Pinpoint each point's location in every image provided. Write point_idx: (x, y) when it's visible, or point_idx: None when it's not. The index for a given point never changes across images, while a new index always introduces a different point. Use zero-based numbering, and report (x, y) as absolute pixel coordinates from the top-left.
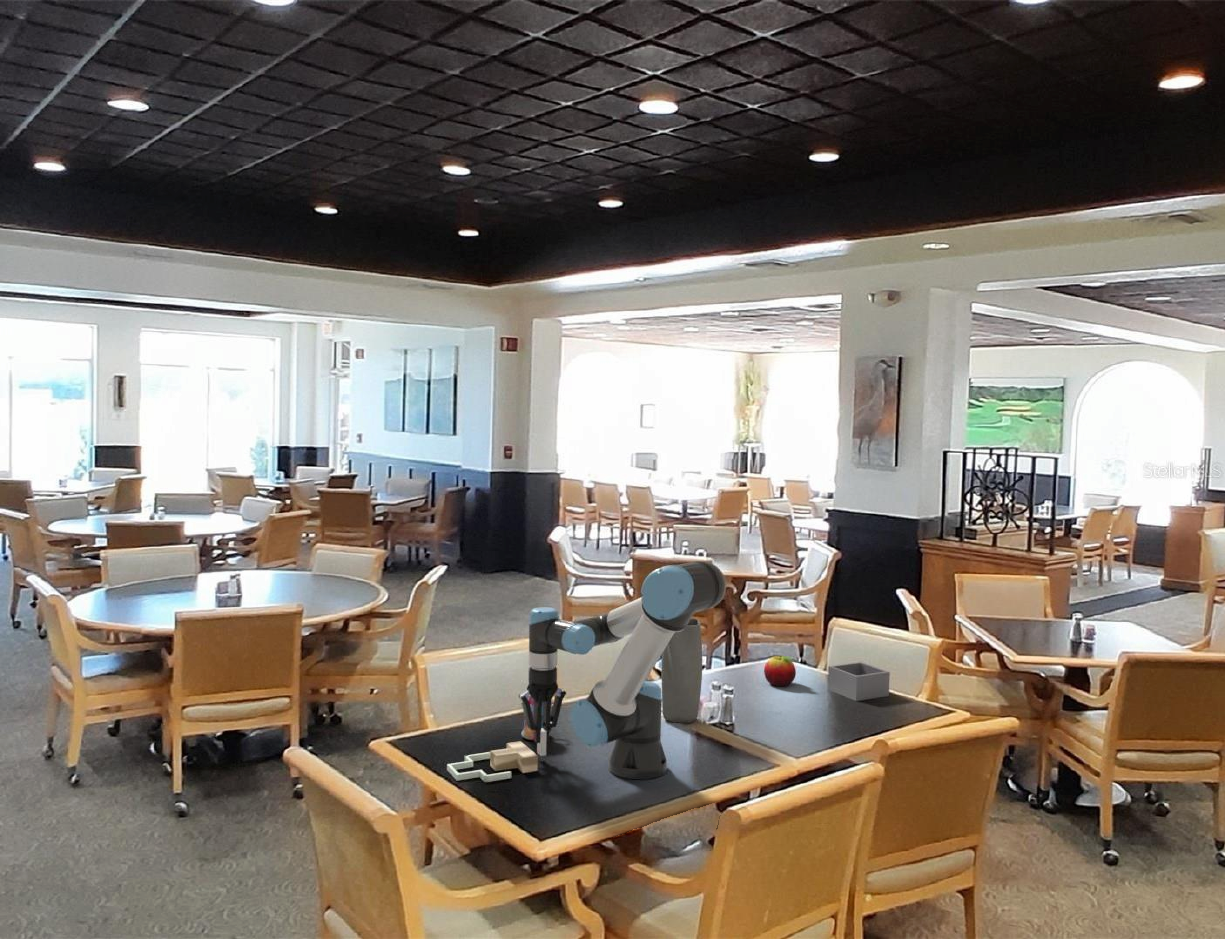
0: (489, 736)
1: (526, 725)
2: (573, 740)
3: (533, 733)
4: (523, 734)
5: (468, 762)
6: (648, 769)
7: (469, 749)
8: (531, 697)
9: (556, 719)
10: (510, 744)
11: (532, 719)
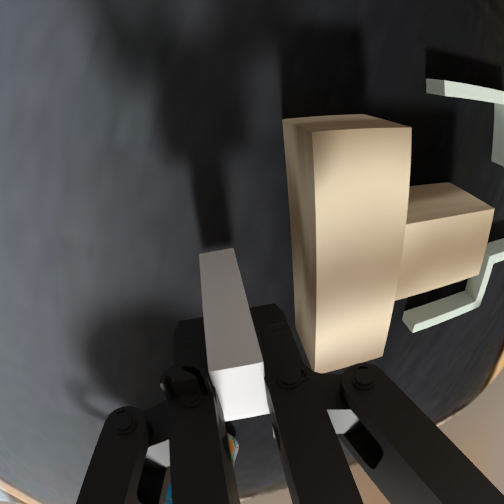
0: None
1: None
2: (67, 406)
3: None
4: (236, 447)
5: (498, 252)
6: None
7: (408, 376)
8: None
9: (101, 472)
10: (377, 341)
11: (408, 450)
